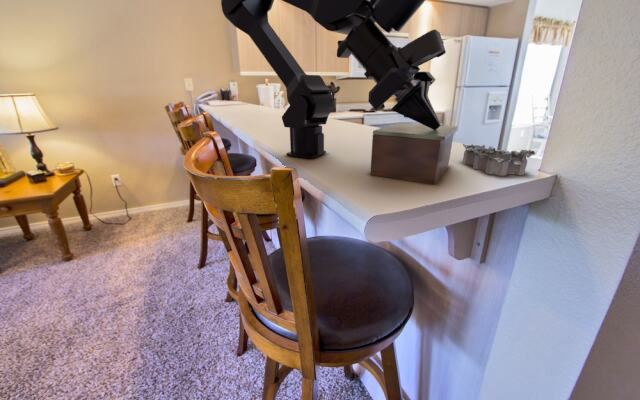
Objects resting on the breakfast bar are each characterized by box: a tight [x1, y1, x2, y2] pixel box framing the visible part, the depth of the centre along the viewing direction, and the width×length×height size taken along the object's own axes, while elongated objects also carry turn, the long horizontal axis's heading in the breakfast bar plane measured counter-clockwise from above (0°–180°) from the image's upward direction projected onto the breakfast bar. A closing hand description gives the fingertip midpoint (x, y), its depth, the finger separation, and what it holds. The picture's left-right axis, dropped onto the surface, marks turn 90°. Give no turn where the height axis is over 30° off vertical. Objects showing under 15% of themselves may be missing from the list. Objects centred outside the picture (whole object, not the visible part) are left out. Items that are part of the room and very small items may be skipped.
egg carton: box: [461, 143, 536, 177], centre depth 52 cm, size 11×8×4 cm
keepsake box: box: [369, 132, 455, 185], centre depth 51 cm, size 10×12×7 cm
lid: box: [372, 122, 459, 141], centre depth 49 cm, size 11×12×1 cm
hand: (438, 127), depth 47 cm, fingers closed
